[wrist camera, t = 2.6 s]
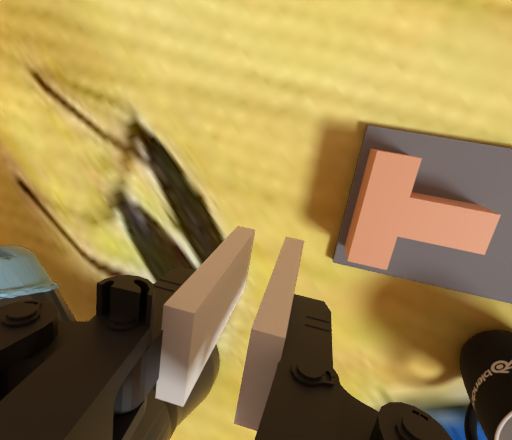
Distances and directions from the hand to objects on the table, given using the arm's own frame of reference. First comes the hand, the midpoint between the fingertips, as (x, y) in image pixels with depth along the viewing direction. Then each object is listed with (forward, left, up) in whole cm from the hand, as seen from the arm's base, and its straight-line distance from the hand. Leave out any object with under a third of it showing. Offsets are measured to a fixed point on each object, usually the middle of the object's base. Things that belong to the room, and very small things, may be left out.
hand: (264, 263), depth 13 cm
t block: (+11, 0, -20) cm, 23 cm away
